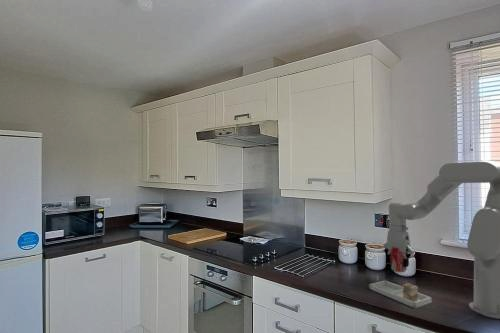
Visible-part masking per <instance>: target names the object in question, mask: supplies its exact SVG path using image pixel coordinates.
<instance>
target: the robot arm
mask: <svg viewBox="0 0 500 333" xmlns="http://www.w3.org/2000/svg"><path fill="white" fill-rule="evenodd" d="M479 183H480V184H482V183H483V184H488V183H489V189H488V192H487V195H486V200H485V203H484V206H483V208H480V209H479V210H478V211H476V213H475V214H474V216H473V219H472V221H471V227H470V231H469V232H468V233H469V234H468V238H467V243H466V245H467V249H468V253H469V254H470V255H471V256H472V257H474V261H473V301H472V302H469V303H468V306H469V308H470V309H471V310H472V311H473V312H476V313H477V314H478V315H481V316H484V317H486V318H492V319H500V162H497V161H493V160H476V161H461V162H447V163H445V164H443V165H442V166H441V167H440V169H439V171H438V176H436V177H435V178H434V179H433V180H432V181H430V183H428V185H427V187H426V188H427V190H426V192H425V193H424V194H423V196H422V197H421V198H420V199H418V201H417V202H413V203H407V204H404V203H402V202H391V203H389V205H388V220H389V221H388V224H389V226H388V230H387V236H386V243H384V244H383V246H382V247H383V249H385V251H386V253H387V255H388V263H389V264H391V248H392V246H393V247H397V248H398V249H399V250H400V251H401V252H402V253H403V256H404V259H403V266H404V267H407V268H408V267H409V265H410V263H409V261H410V260H409V259H410V258H411V257H412V256H413V255H414V254H415V250H414V249H413V248H412V246H411V240H410V234H409V232H408V231H409V227H407V220H408V221H415V220H416V221H417V220H421V219H423V218H425V217H427V216H428V215H429V214H430V213H432V212H433V211H434V210H435V209H436V208H438V207H439V205H440V204H441V203H442V202H443V201H444V199H446V197H447V196H449V195H450V194H452V192H454V191H455V190H457V188H458V187H460V185H463V184H479ZM405 253H406V254H405Z"/></svg>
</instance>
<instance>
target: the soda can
mask: <svg viewBox="0 0 500 333" xmlns="http://www.w3.org/2000/svg"><path fill="white" fill-rule="evenodd" d="M405 254H406V253H405ZM403 259H404V256H403V253H402V252H401V251H400V250H399V249H398V248H397V247H393V246H392V248H391V263H390V267H391V268H390V269H391V270H392V271H394V272H395V273H400V274H401V273H402V274H403V273H405V272H406V271H407V270H408V269H407V268H408V267H404V266H403Z"/></svg>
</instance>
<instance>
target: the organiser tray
mask: <svg viewBox="0 0 500 333" xmlns="http://www.w3.org/2000/svg"><path fill="white" fill-rule="evenodd" d="M368 289H369V290H372V291H373V292H376V293H379V294H381V295H383V296H386V297H388V298H391V299H393V300H395V301H397V302H399V303H402V304H404V305H407V306H410V307H411V308H414V309H416V308H420V307H423V306H425V305H428V304H431V303H433V302H432V301H433V298H432V297H431V296H429V295H425V294H422V293H420V292H418V301H415V302H413V301H410V300H408V299H406V298H403V285H402V286H401V285H399V284H396V283H394V282H392V281H388V280H387V279H385V280H381V281H376V282H372V283H369V284H368Z"/></svg>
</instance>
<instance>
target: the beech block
mask: <svg viewBox="0 0 500 333" xmlns="http://www.w3.org/2000/svg"><path fill="white" fill-rule="evenodd" d="M402 287H403V298H406V299H408V300H410V301H413V302H415V301H418V293H419V287H418V285H415V284H412V283H404V284H402Z"/></svg>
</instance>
